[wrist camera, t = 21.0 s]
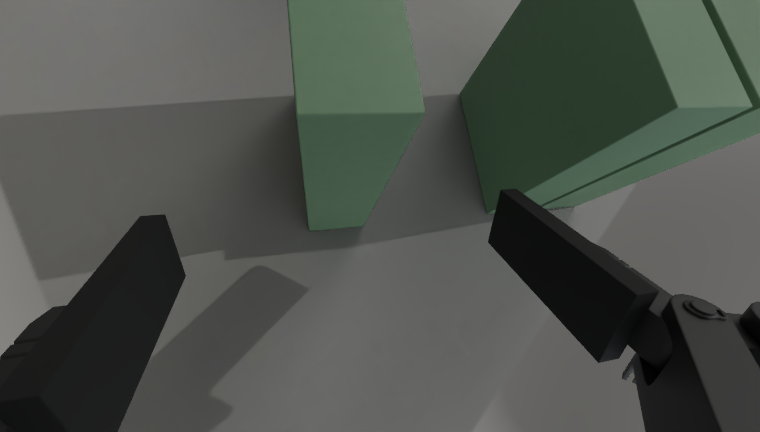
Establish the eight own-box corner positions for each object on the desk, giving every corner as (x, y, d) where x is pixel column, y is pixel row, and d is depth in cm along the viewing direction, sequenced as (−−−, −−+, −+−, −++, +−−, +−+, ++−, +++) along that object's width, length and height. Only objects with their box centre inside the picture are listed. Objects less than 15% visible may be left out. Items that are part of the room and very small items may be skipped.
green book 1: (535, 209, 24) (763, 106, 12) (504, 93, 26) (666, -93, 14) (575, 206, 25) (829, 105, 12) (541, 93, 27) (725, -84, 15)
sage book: (308, 231, 20) (295, 114, 8) (297, 94, 23) (275, -152, 11) (363, 226, 21) (426, 113, 9) (347, 94, 24) (378, -136, 11)
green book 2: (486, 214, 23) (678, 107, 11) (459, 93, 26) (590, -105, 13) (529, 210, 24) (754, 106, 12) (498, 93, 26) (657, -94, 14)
